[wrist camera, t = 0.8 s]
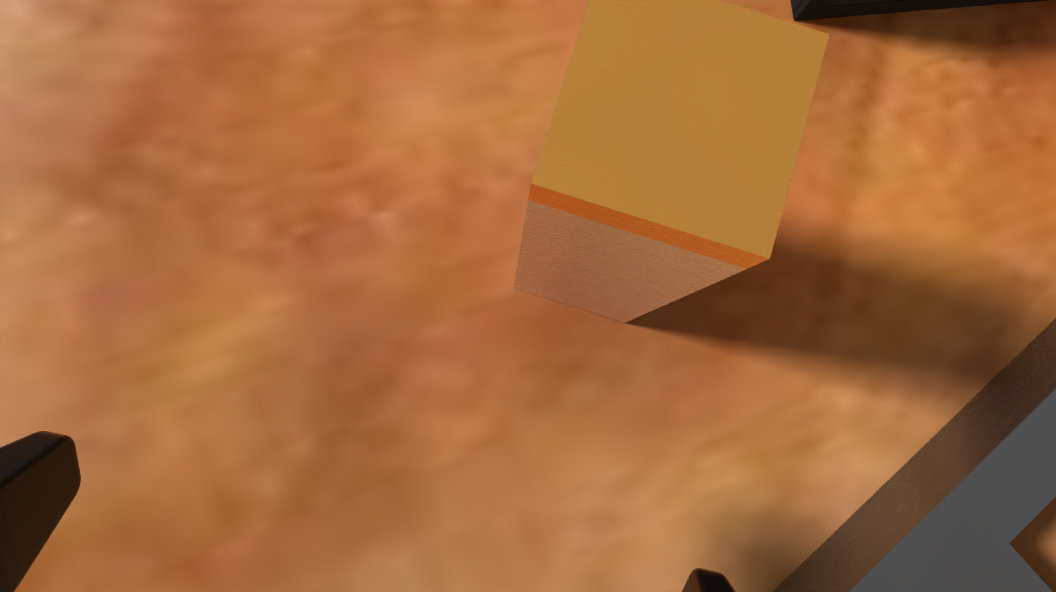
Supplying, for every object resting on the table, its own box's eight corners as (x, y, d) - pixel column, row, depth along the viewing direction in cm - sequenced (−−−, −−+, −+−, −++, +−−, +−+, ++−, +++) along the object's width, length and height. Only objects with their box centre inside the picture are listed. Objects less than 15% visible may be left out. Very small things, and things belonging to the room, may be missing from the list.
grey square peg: (624, 322, 23) (770, 259, 11) (513, 288, 23) (531, 183, 11) (655, 214, 24) (829, 34, 11) (547, 180, 24) (601, -38, 11)
